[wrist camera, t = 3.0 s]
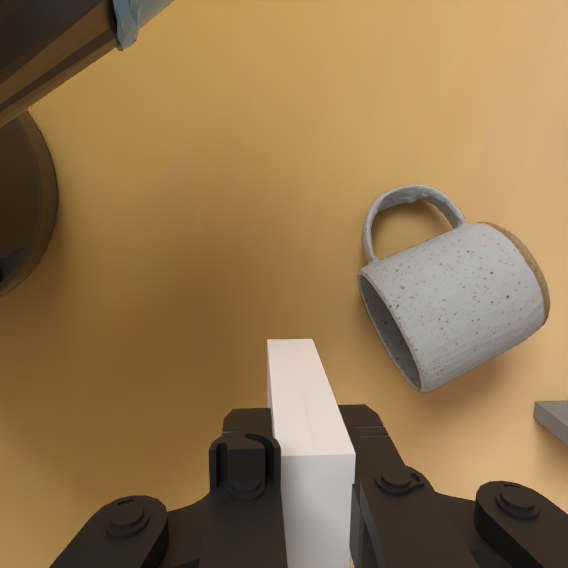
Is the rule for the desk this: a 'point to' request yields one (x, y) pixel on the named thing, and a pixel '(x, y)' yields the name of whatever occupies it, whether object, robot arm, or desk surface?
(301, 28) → the desk surface
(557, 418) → the grey c-shaped bracket
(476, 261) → the ceramic mug
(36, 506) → the desk surface
